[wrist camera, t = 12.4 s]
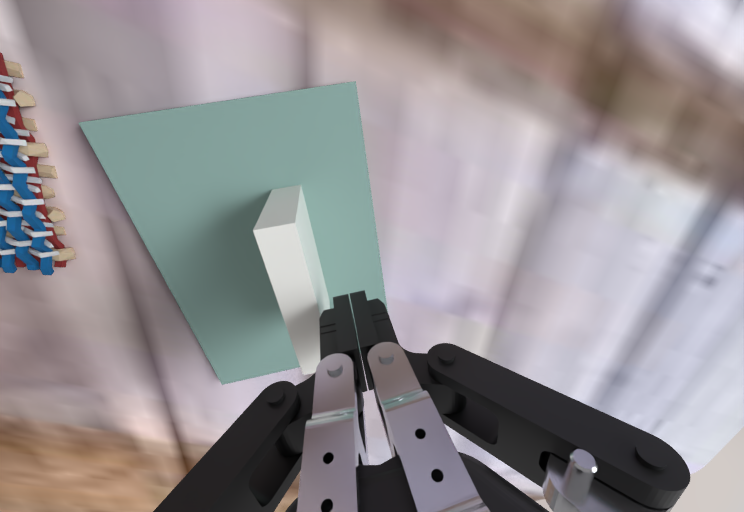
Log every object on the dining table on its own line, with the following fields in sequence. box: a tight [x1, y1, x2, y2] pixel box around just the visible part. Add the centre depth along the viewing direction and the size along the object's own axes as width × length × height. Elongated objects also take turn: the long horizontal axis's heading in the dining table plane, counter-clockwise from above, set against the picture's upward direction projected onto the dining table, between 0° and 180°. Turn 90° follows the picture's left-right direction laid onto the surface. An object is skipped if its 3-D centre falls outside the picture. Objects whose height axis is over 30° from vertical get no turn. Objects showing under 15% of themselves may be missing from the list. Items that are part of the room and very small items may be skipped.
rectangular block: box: [253, 185, 330, 375], centre depth 16 cm, size 6×2×8 cm
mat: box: [79, 81, 388, 385], centre depth 19 cm, size 18×13×1 cm
